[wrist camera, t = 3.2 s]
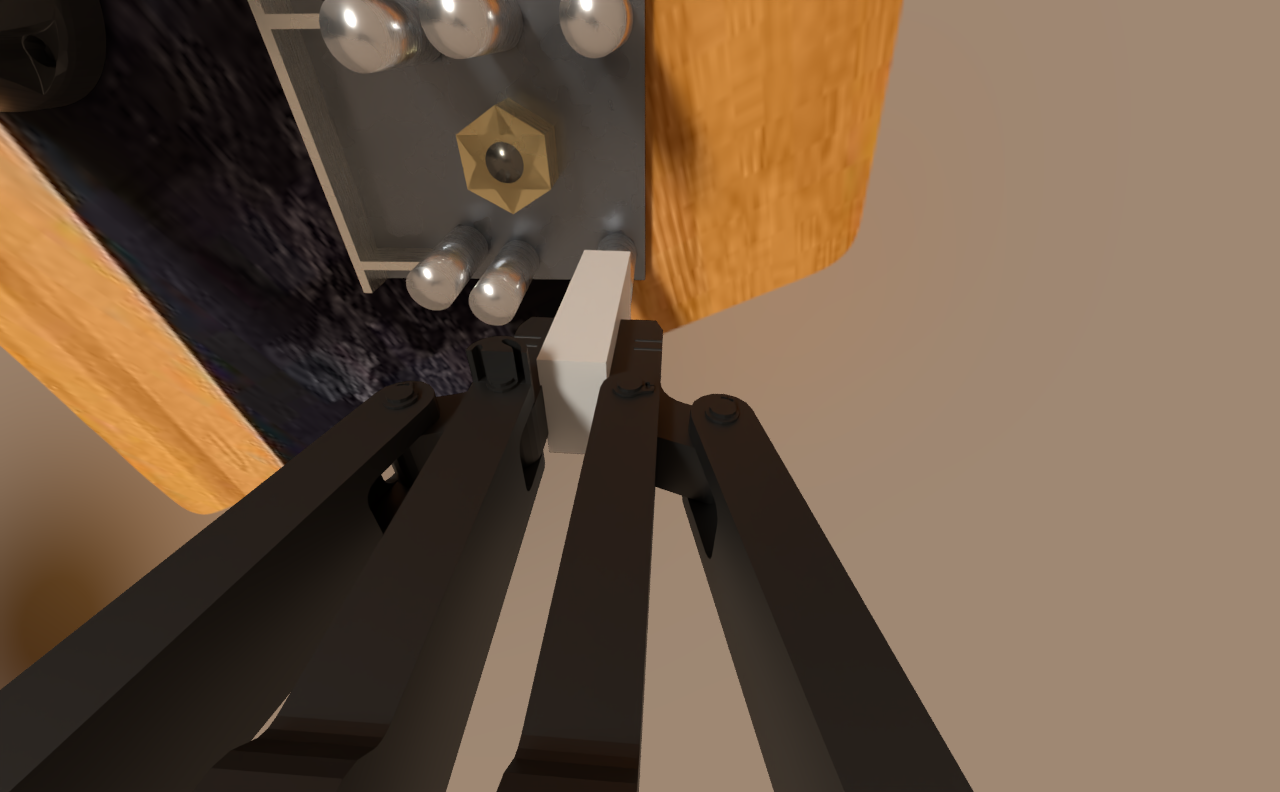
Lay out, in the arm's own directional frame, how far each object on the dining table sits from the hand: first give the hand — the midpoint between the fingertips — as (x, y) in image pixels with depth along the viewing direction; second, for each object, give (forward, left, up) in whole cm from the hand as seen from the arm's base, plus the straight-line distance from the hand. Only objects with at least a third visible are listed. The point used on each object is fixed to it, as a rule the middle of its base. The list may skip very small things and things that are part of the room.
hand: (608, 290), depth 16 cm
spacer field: (-9, +1, -19) cm, 21 cm away
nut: (-7, +1, -18) cm, 19 cm away
